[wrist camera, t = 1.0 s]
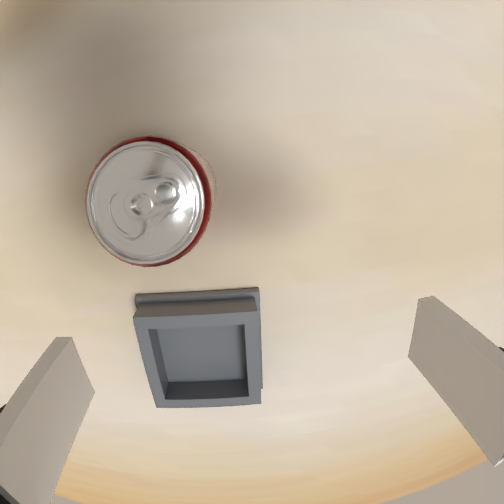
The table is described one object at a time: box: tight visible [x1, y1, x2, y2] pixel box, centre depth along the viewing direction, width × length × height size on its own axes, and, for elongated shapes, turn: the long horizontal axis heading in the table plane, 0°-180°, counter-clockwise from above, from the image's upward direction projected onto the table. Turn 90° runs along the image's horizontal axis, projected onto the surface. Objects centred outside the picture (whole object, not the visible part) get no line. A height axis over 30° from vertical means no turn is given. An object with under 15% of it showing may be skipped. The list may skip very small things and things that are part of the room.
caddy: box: [133, 288, 263, 408], centre depth 29 cm, size 12×12×4 cm
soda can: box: [86, 136, 216, 267], centre depth 21 cm, size 7×7×12 cm
